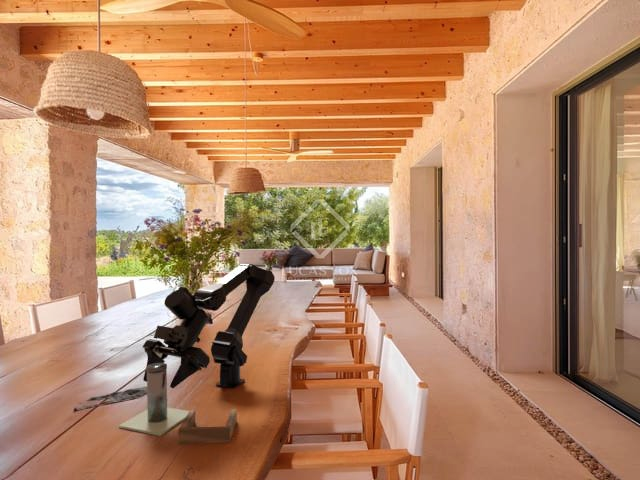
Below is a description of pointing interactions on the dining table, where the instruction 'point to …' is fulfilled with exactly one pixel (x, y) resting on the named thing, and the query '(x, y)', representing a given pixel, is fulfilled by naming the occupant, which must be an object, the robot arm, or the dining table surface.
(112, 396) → the driftwood
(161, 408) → the canister
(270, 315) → the dining table surface
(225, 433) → the cubby
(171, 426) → the tile
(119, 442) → the dining table surface
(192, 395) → the dining table surface
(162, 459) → the dining table surface
